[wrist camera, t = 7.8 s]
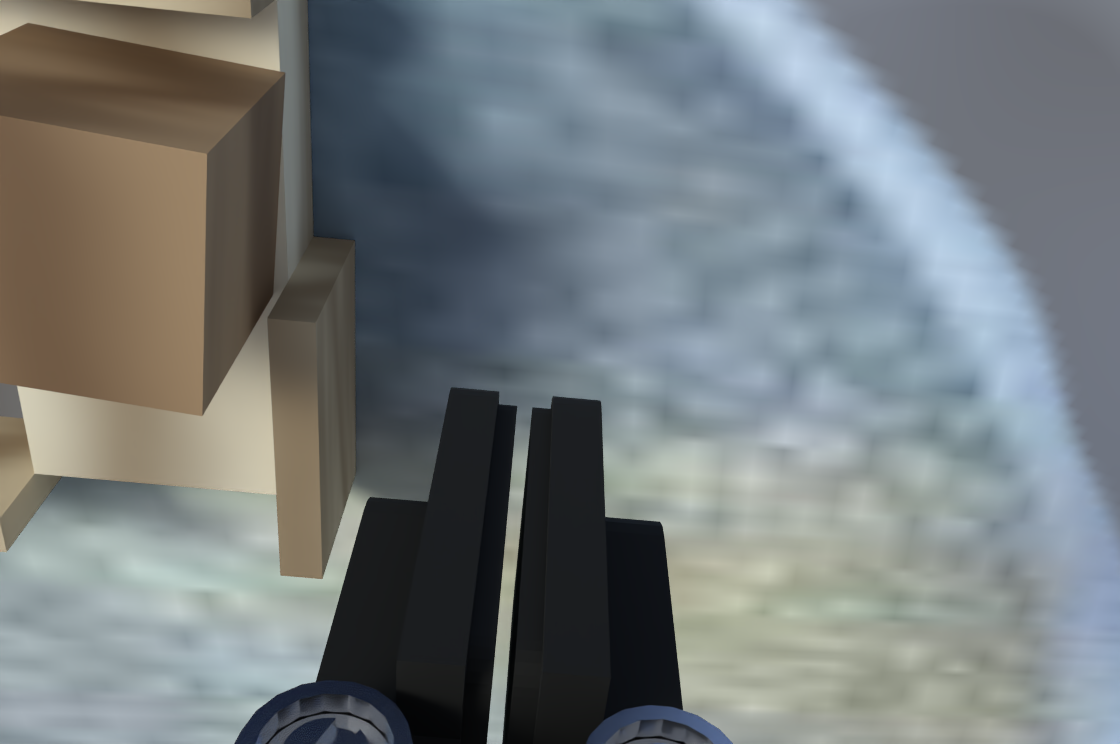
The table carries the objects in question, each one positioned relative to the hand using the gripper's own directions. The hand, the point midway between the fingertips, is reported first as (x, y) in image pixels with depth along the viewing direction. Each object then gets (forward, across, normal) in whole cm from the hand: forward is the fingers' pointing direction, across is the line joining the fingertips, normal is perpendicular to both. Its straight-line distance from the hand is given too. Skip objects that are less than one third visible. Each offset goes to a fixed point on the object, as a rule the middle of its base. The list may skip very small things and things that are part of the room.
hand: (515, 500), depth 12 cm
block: (+11, +8, +1) cm, 14 cm away
